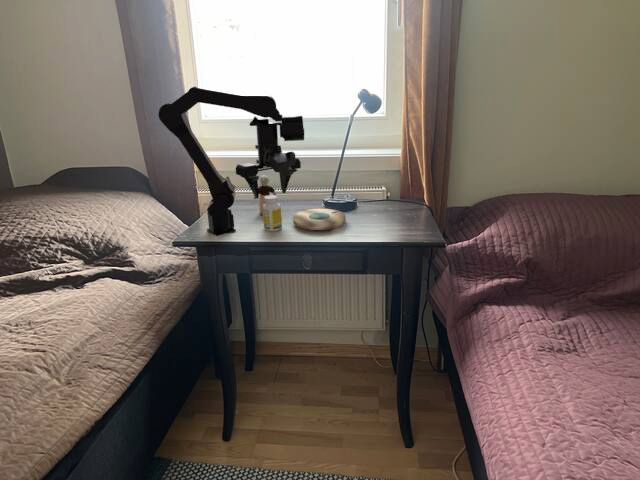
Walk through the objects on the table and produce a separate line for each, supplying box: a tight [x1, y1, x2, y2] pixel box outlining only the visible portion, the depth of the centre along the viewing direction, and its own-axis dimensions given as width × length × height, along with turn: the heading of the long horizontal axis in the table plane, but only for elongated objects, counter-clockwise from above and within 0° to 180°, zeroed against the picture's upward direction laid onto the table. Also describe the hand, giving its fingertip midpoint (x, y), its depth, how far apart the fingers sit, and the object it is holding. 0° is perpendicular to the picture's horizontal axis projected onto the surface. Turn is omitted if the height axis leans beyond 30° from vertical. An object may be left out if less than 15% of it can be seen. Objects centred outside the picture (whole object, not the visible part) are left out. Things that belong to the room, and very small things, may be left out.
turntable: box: [292, 208, 347, 231], centre depth 140 cm, size 16×16×2 cm
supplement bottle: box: [262, 194, 283, 232], centre depth 136 cm, size 5×5×10 cm
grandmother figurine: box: [253, 175, 277, 216], centre depth 151 cm, size 8×4×13 cm, turn 129°
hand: (270, 195), depth 134 cm, fingers open, 9 cm apart
